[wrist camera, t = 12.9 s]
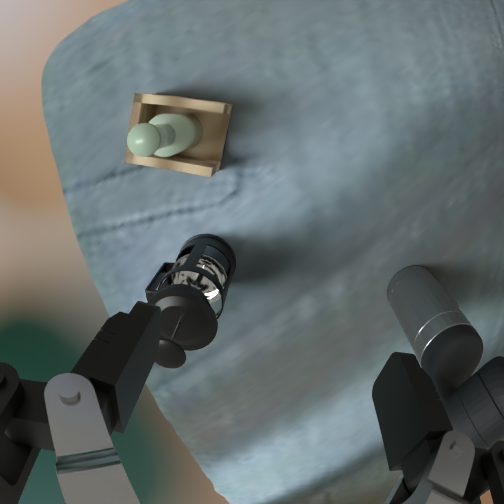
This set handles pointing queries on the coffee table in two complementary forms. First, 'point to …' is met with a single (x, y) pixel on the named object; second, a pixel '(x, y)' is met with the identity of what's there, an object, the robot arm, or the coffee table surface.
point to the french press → (190, 298)
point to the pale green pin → (165, 135)
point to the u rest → (193, 159)
